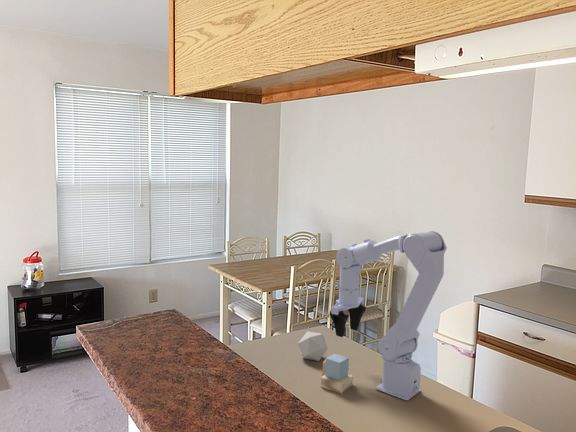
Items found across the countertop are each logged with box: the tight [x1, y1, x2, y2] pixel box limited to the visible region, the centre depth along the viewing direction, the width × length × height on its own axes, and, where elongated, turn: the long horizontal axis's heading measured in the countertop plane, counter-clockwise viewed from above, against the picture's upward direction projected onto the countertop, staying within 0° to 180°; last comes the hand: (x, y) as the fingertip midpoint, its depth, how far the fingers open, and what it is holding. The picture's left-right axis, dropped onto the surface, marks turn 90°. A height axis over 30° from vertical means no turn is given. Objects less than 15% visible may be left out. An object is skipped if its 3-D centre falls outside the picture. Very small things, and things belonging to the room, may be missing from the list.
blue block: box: [325, 353, 350, 381], centre depth 131 cm, size 4×4×5 cm
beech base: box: [320, 373, 354, 394], centre depth 131 cm, size 6×6×3 cm
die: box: [297, 331, 329, 362], centre depth 149 cm, size 8×9×10 cm
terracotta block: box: [321, 358, 326, 376], centre depth 138 cm, size 4×4×4 cm
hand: (347, 332), depth 143 cm, fingers open, 7 cm apart
